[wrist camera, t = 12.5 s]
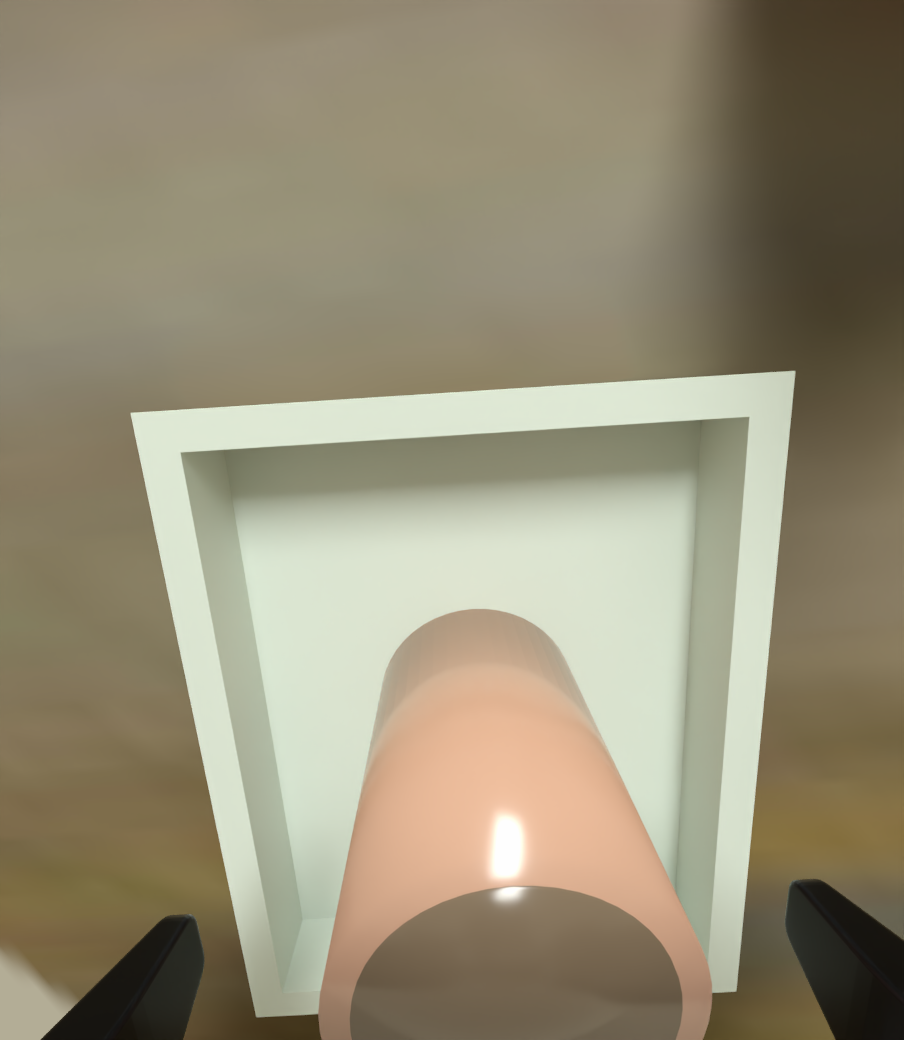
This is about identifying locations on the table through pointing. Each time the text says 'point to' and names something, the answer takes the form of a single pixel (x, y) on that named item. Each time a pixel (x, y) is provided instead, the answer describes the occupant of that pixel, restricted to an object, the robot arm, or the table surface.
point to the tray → (470, 585)
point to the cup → (502, 862)
